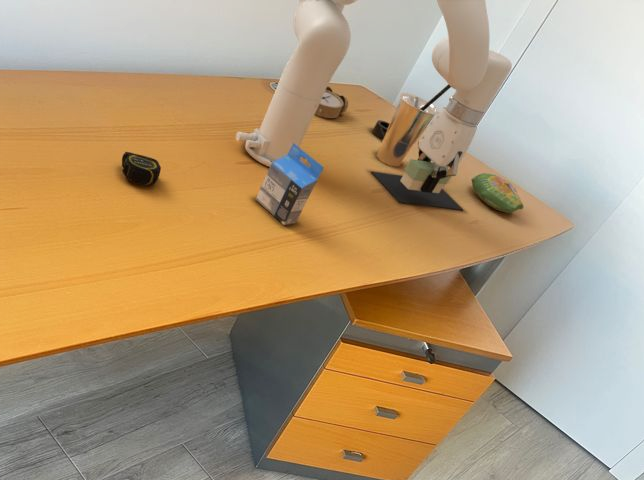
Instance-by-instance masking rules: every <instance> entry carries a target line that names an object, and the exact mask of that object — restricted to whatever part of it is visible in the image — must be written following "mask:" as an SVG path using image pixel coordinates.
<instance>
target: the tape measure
mask: <svg viewBox="0 0 644 480" xmlns="http://www.w3.org/2000/svg"><path fill="white" fill-rule="evenodd" d="M121 167H122V174H123V175H124V177H125V178H126V179H127V180H129V181H131V182H133V183H135V184H138V185H141V186H142V185H143V186H152V185H155V184H156V183H157V182H158V180H159V177H160V174H161V169H162V167H161V165H160V163H159V161H158V160H157V159H155V158H153V157H150V156H146V155H142V154H138V153H134V152H129V151H125V152H124V153H123V154H122V157H121Z"/></svg>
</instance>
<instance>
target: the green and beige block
mask: <svg viewBox="0 0 644 480" xmlns="http://www.w3.org/2000/svg"><path fill="white" fill-rule="evenodd" d="M435 166H436V164H435V163H434V162H433V161H431V162H427V161H420V160H417V159H413V158H410V159H409V161H408V163H407V164H406V166H405V168H404V170H403V171H404V173H403V174H402V176H403V177H402V178H401V180H400V181H401V182H402V183H403V184H404V185H405V186H406V188H407V189H410V190H417V191H421V187H422V186H423V184H424V182H425V181H426V179H427V177H428V176H429V175H432V173H433V170H434V168H435ZM441 170H442V167H441V168H440V170H439V171H441ZM451 177H452V176H448V177H445V178H443V179H440V180H439V182H438V183H437V185H436V187H435V188H434V190H433V193H439V192H440V191H441V189H443V187H444V186H445V185H447V184H448V183H449V181H450V179H451Z"/></svg>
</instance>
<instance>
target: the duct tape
mask: <svg viewBox="0 0 644 480" xmlns="http://www.w3.org/2000/svg"><path fill="white" fill-rule="evenodd" d="M389 124H390V122H388V121H385V120H379V119H378V120H377V121H376V123H375V125H374V127H373V129H372V131H371V133H372V134H373V135H374V136H375V137H376V138H378V139H380V140H382V141H383V139H384V137H385V134H386V132H387V129H388V127H389Z"/></svg>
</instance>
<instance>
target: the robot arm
mask: <svg viewBox="0 0 644 480" xmlns="http://www.w3.org/2000/svg"><path fill="white" fill-rule="evenodd" d="M357 1H358V0H298V1H297V4H296V7H295V11H294V16H293V30H294V33H295V36H296V38H297V41H298V42H297V46H296V47H295V48H294V50H293V52H292V54H291V56H290V57H289V59H288V61H287V63H286V64H285V66H284V69H283V70H282V74H281V76H280V78H279V80H278V81H279V82H278V84H277V86H276V89H275V91H274V94H273V95H272V99H271V101H270V103H269V105H268V108H267V110H266V113H265V115H264V117H263V119H262V122H261V124H260V127H259V128H254V130H253V132H249V133H247V132H244V131H237V132H236V134H235V140H236V142H240V143H241V142H242V143H245V146H244V148H245V150H246V152H247V154H248V155H249V156H250V157H251V158H253V159H254V160H255V161H257V162H259V163H260V164H262V165H264V166H266V167H268V168H270V166H271V163H273V162H274V161H276V160H278V159H280V158H282V157H284V156H285V155H287V154H288V153H289V151H290V149H291V147H292V145H293V143H295V144H296V145H297V146H298V147H299V148H301V145H302V142H303V140H304V138H305V136H306V134H307V132H308V129H309V128H310V126H311V123H312V121H313V119H314V117H315V112H316V110H317V108H318V106H319V104H320V101H321V99H322V97H323V95H324V92H325V90H326V88H327V86H329V84H330V82H331V80H332V79H333V76H334V75H335V73H336V71H337V69H338V68H339V66H340V65H341V63H342V62H343V60H344V59H345V57H346V56H347V53H348V50H349V48H350V45H351V37H352V35H351V28H350V25H349V22H348V20H347V18H346V17H345V16H344V14H343V10H344V8H345V6H348V5H351V4H354V3H356V2H357ZM436 1H437V5H438V8H439V9H440V12H441V13H442V16H443V18H444V23H445V25H446V29H447V30H446V31H447V36H448V37H445V38H442V39H441V40H439V41H438V42H437V43H436V44H435V46H434V48H433V49H432V53H431V62H432V65H433V67H434V69H435V70H436V72H437V74H439V75H440V76H441V77H442V78H443V79H444V80H445V82H446V83H447V85H448V84H449V85H450V86H451V88H452V89H453V90H455V91H454V93H453V95H451V96H449V99H448V101H449V102H448V104H447V106H446V107H442V109H440V110H439V113H438V114H436V115H435V116H434V117H433V119H432V120H431V121H430V123H429V124H428V126H427V127H426V129H425V130H424V132H423V133H422V135H421V138H420V139H419V141H417V148H418V157H417V158H416V160H420V161H427V162H433V163H435V164H436V166H435V168H434V170H433V173H432V175H429V176H428V177H427V179H426V181H425V182H424V184H423V186H422V187H421V191H422V192H427V193H432V192H433V190H434V188H435V187H436V185H437V183H438V182H439V180H440V179H443V178H445V177H448V176H451V177H456V176H457V175H458V167H459V165H460V163H461V162H462V160H463V158H464V157H465V155H466V153H467V151H468V150H469V147H470V145H471V144H472V142H473V140H474V138H475V136H476V132H477V129H478V125H479V123H480V122H481V120H482V118H483V116H484V115H485V114H486V112H487V110H488V108H489V107H490V105H491V103H492V101H493V100H494V98H495V97H496V95H497V94H498V93H499V91H500V89H501V87H502V85H503V84H504V82H505V81H506V79H507V78H508V77H509V74H510V73H511V71H512V68H513V67H512V66H513V64H512V61H511V60H510V59H509V58H508V57H506V56H505V55H503V54H501V53H498V52H496V51H494V50H491V49H490V23H489V16H488V10H487V1H486V0H436ZM441 167H442V170H441V171H439V170H440V168H441Z"/></svg>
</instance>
